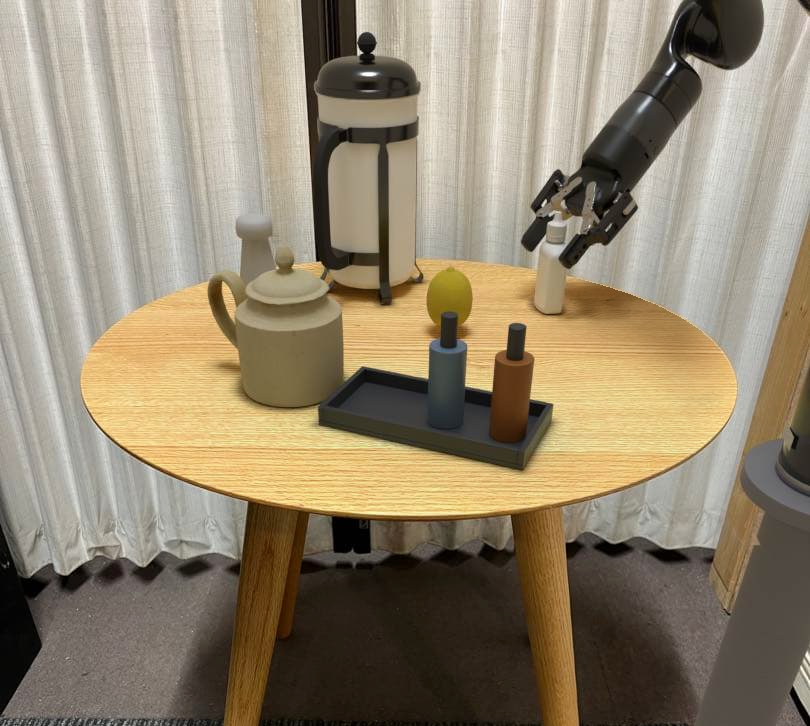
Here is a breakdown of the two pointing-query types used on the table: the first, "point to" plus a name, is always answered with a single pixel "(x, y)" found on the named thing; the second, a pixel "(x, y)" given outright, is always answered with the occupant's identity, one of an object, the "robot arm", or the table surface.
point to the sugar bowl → (283, 333)
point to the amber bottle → (511, 388)
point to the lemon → (449, 295)
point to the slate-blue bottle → (447, 375)
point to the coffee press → (367, 170)
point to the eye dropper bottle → (551, 268)
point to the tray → (407, 417)
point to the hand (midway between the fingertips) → (544, 255)
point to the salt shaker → (254, 245)
